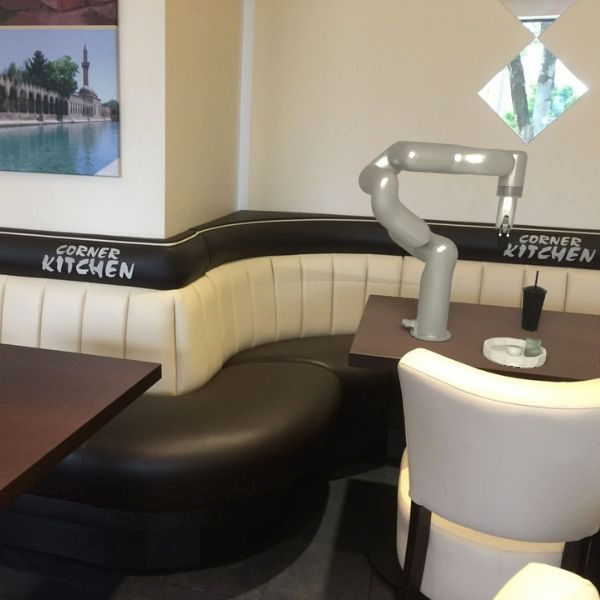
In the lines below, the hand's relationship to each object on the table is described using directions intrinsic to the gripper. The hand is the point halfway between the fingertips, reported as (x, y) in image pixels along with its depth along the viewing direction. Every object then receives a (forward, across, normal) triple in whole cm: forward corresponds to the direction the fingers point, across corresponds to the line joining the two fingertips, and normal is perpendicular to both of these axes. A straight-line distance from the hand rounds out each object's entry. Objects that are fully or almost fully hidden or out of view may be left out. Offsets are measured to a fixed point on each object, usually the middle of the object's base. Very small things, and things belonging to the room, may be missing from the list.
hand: (502, 247), depth 188 cm
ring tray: (+28, +21, +7) cm, 36 cm away
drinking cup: (+28, -10, +12) cm, 32 cm away
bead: (+27, +21, +12) cm, 36 cm away
